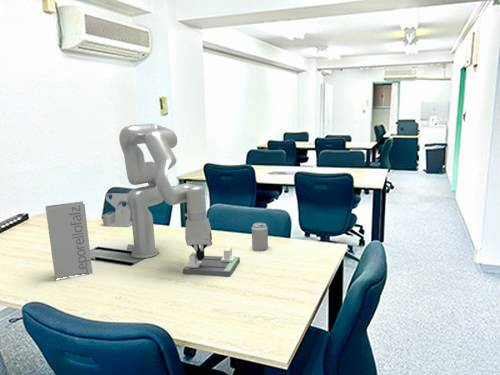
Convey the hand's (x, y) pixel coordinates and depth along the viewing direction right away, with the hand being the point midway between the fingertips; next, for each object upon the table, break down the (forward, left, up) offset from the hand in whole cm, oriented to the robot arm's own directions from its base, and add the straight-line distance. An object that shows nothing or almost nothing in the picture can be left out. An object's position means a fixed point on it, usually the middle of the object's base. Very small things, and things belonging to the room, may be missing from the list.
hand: (200, 259), depth 172 cm
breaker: (+9, +8, -3) cm, 13 cm away
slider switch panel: (+3, +4, -5) cm, 7 cm away
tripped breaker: (-3, 0, -3) cm, 4 cm away
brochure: (-52, -11, -5) cm, 54 cm away
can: (+19, +30, -5) cm, 36 cm away
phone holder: (-72, +60, -6) cm, 94 cm away
